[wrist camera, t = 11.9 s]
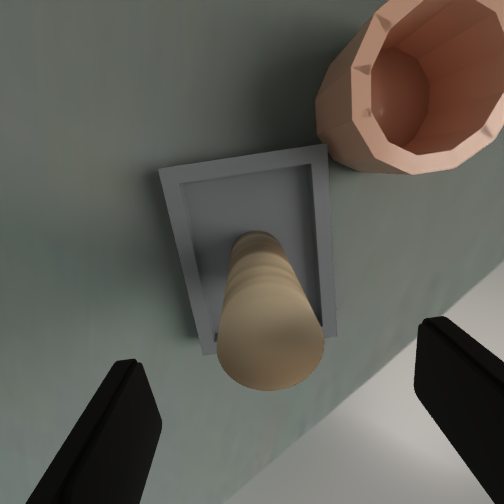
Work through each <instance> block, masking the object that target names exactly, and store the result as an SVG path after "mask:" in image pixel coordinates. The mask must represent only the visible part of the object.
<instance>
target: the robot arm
mask: <svg viewBox="0 0 504 504" xmlns="http://www.w3.org/2000/svg"><path fill="white" fill-rule="evenodd" d="M414 390H415V393H416V395H417V397H418V399H419V400H420V401H421V403H422V404H423V406H424V407H425V408H426V410H427V411H428V412H429V414H430V415H431V417H432V418H433V419H434V421H435V422H436V423H437V425H438V426H439V427H440V429H441V430H442V432H443V433H444V434H445V436H446V437H447V438H448V440H449V441H450V443H451V444H452V445H453V447H454V448H455V450H456V451H457V452H458V454H459V455H460V456H461V458H462V459H463V461H464V462H465V463H466V464H467V466H468V467H469V469H470V470H471V472H472V473H473V474H474V476H475V477H476V478H477V480H478V481H479V483H480V484H481V485H482V487H483V488H484V489H485V491H486V492H487V494H488V495H489V496H490V498H491V499H492V501H493V502H494V503H495V504H504V362H503V361H502V360H500V359H499V358H498V357H497V356H495V355H494V354H493V353H492V352H490V351H489V350H487V349H486V348H485V347H484V346H482V345H481V344H480V343H479V342H477V341H476V340H475V339H474V338H472V337H471V336H470V335H469V334H467V333H466V332H465V331H463V330H462V329H461V328H460V327H458V326H457V325H456V324H454V323H453V322H452V321H451V320H449V319H448V318H447V317H444V316H440V317H433V318H426V319H424V320H423V322H422V324H419V326H418V336H417V349H416V362H415V376H414ZM161 430H162V419H161V416H160V413H159V411H158V408H157V405H156V402H155V399H154V396H153V393H152V391H151V388H150V385H149V382H148V379H147V376H146V373H145V371H144V368H143V365H142V363H140V362H139V363H138V362H137V360H136V359H128V360H120V361H116V362H115V363H114V364H113V366H112V368H111V369H110V371H109V372H108V374H107V375H106V377H105V379H104V380H103V382H102V383H101V385H100V387H99V388H98V390H97V391H96V393H95V394H94V396H93V398H92V399H91V401H90V402H89V404H88V405H87V407H86V409H85V410H84V412H83V413H82V415H81V417H80V418H79V420H78V421H77V423H76V424H75V426H74V428H73V429H72V431H71V432H70V434H69V436H68V437H67V439H66V440H65V442H64V443H63V445H62V447H61V448H60V450H59V451H58V453H57V455H56V456H55V458H54V459H53V461H52V462H51V464H50V466H49V467H48V469H47V470H46V472H45V474H44V475H43V477H42V478H41V480H40V481H39V483H38V485H37V486H36V488H35V489H34V491H33V492H32V494H31V496H30V497H29V499H28V500H27V502H26V504H139V503H140V500H141V497H142V494H143V490H144V487H145V484H146V480H147V477H148V474H149V470H150V467H151V464H152V460H153V457H154V454H155V451H156V447H157V444H158V441H159V437H160V434H161Z"/></svg>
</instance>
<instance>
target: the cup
mask: <svg viewBox="0 0 504 504" xmlns="http://www.w3.org/2000/svg"><path fill="white" fill-rule="evenodd" d="M315 112H316V128H317V136H318V137H319V139H320V140H321V142H322V143H323V144H324V143H327V148H328V153H329V154H330V156H331V157H332V159H333V160H334V161H336V162H338V163H340V164H343V165H345V166H347V167H349V168H352V169H354V170H356V171H358V172H367V173H386V174H405V175H414V174H421V173H427V172H434V171H441V170H447V169H454V168H456V167H457V166H458V165H460V164H461V163H463V162H464V161H465V160H467V159H468V158H470V157H471V156H473V155H474V154H475V153H477V152H478V151H480V150H481V149H482V148H484V147H485V146H487V145H488V144H489V143H491V142H492V141H494V140H495V138H496V136H497V135H498V133H499V131H500V130H501V128H502V127H503V125H504V0H389V1H388V2H387V3H386V4H384V5H383V6H382V7H381V8H380V9H379V10H377V11H376V12H375V13H374V14H373V16H372V17H371V18H370V19H369V20H368V21H367V22H366V24H365V25H364V26H363V27H362V28H361V29H360V31H359V32H358V33H357V34H356V35H355V36H354V37H353V39H352V40H351V41H350V42H349V43H348V44H347V46H346V47H345V48H344V49H343V50H342V51H341V52H340V54H339V55H338V56H337V57H336V58H335V59H334V61H333V62H332V63H331V64H330V65H329V67H328V70H327V72H326V74H325V77H324V79H323V82H322V84H321V86H320V89H319V91H318V94H317V96H316V98H315Z"/></svg>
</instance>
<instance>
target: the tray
mask: <svg viewBox="0 0 504 504" xmlns="http://www.w3.org/2000/svg"><path fill="white" fill-rule="evenodd" d="M158 172H159V176H160V180H161V184H162V188H163V192H164V196H165V200H166V205H167V209H168V213H169V217H170V221H171V225H172V229H173V233H174V238H175V242H176V246H177V250H178V254H179V258H180V262H181V266H182V271H183V275H184V279H185V283H186V287H187V291H188V295H189V299H190V304H191V308H192V312H193V316H194V320H195V324H196V328H197V332H198V337H199V341H200V345H201V349H202V353H203V356H204V355H210V354H217V338H218V331H219V325H220V319H221V313H222V306H223V300H224V294H225V288H226V281H227V275H228V269H229V263H230V257H231V250H232V247H233V245H234V243H235V242H236V241H237V239H238V238H239V237H241V236H242V235H243V234H245V233H248V232H251V231H264V232H267V233H270V234H271V235H273V236H274V237H275V238H276V239H277V240H278V241H279V242H280V244H281V246H282V248H283V250H284V252H285V254H286V256H287V258H288V260H289V263H290V265H291V267H292V269H293V271H294V273H295V275H296V277H297V279H298V281H299V283H300V285H301V287H302V289H303V291H304V293H305V295H306V297H307V300H308V302H309V304H310V306H311V308H312V310H313V312H314V314H315V316H316V318H317V320H318V322H319V324H320V326H321V328H322V332H323V335H324V338H329V337H336V336H337V321H336V302H335V283H334V264H333V244H332V225H331V206H330V186H329V167H328V148H327V143H324V144H317V145H311V146H304V147H297V148H291V149H284V150H278V151H271V152H264V153H258V154H251V155H245V156H238V157H232V158H225V159H218V160H212V161H205V162H199V163H192V164H185V165H179V166H172V167H166V168H159V169H158Z"/></svg>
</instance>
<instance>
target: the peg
mask: <svg viewBox="0 0 504 504" xmlns="http://www.w3.org/2000/svg"><path fill="white" fill-rule="evenodd" d="M323 351H324V335H323V332H322V328H321V326H320V324H319V322H318V320H317V318H316V316H315V314H314V312H313V310H312V308H311V306H310V304H309V302H308V300H307V297H306V295H305V293H304V291H303V289H302V287H301V285H300V283H299V281H298V279H297V277H296V275H295V273H294V271H293V269H292V267H291V265H290V263H289V260H288V258H287V256H286V254H285V252H284V250H283V248H282V246H281V244H280V242H279V241H278V240H277V239H276V238H275V237H274V236H273V235H271V234H270V233H267V232H264V231H251V232H248V233H245V234H243V235H242V236H241V237H239V238H238V239H237V241H236V242H235V243H234V245H233V247H232V250H231V257H230V263H229V269H228V275H227V281H226V288H225V294H224V300H223V306H222V313H221V319H220V325H219V331H218V338H217V356H218V359H219V362H220V364H221V366H222V368H223V369H224V371H225V372H226V373H227V374H228V375H229V376H230V377H231V378H232V379H233V380H235V381H236V382H238V383H239V384H241V385H243V386H246V387H248V388H251V389H255V390H262V391H274V390H281V389H285V388H288V387H291V386H294V385H296V384H298V383H299V382H301V381H303V380H304V379H305V378H307V377H308V376H309V375H310V374H311V373H312V372H313V371H314V370H315V369H316V367H317V365H318V364H319V362H320V360H321V358H322V355H323Z"/></svg>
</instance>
